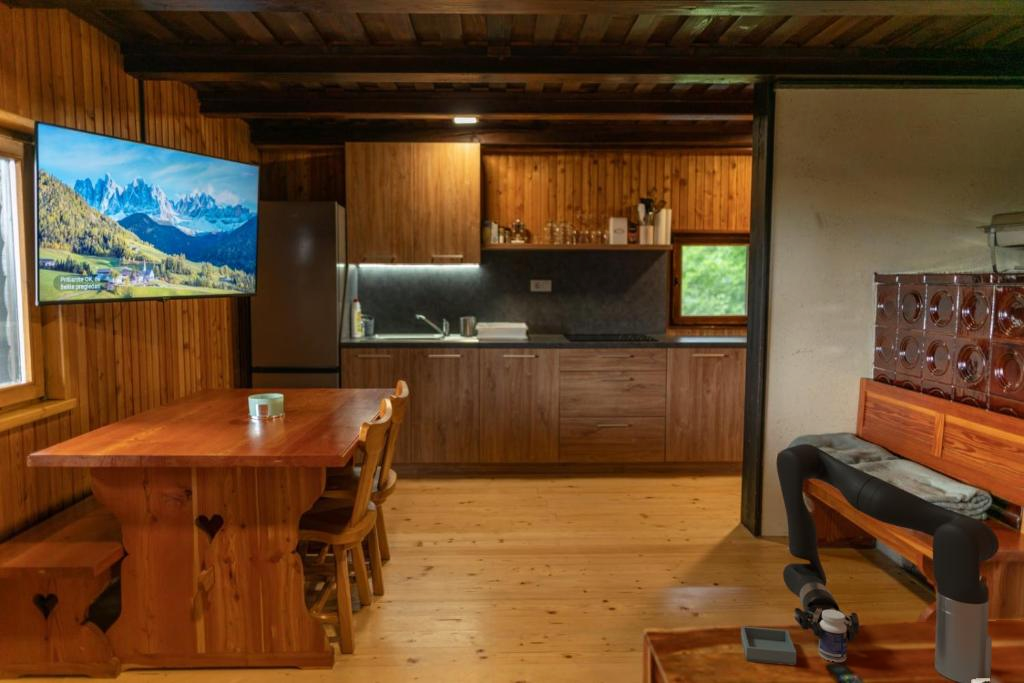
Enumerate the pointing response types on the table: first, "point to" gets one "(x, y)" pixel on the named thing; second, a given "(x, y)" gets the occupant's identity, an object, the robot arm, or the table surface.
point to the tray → (768, 645)
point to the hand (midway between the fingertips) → (836, 635)
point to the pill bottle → (833, 636)
